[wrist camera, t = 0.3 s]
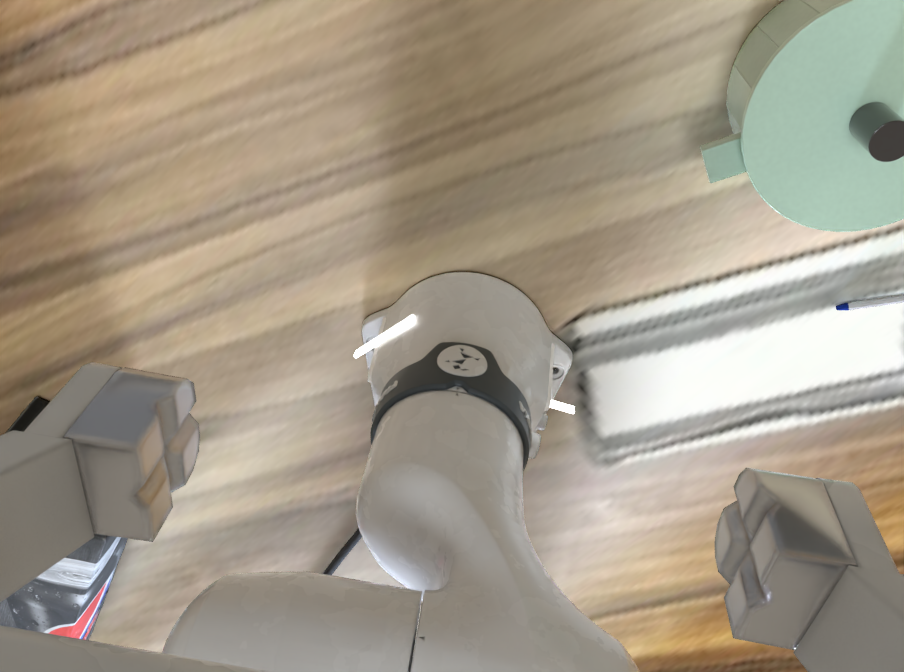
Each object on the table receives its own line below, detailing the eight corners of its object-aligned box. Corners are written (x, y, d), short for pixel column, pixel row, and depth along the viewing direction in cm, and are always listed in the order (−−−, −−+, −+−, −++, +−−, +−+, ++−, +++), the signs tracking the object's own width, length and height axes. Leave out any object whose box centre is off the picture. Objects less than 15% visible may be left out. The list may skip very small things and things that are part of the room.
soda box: (96, 637, 101) (43, 732, 91) (-10, 598, 99) (-77, 690, 88) (169, 447, 79) (109, 542, 69) (35, 390, 77) (-48, 480, 66)
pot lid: (1005, 180, 47) (1045, 211, 43) (763, 251, 52) (780, 286, 48) (992, -60, 40) (1038, -48, 37) (714, 46, 45) (729, 67, 41)
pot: (992, 124, 52) (1050, 164, 46) (712, 213, 58) (730, 259, 52) (979, -82, 46) (1045, -67, 39) (666, 41, 52) (681, 71, 45)
